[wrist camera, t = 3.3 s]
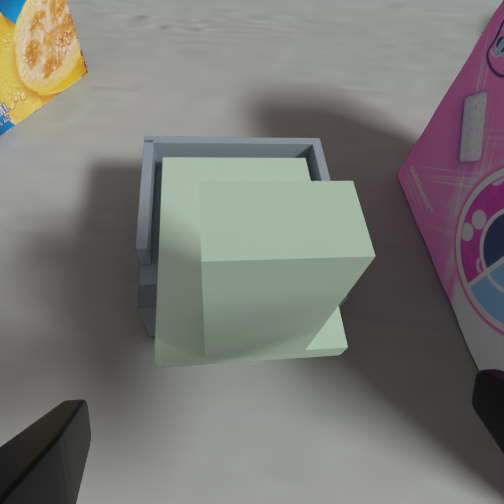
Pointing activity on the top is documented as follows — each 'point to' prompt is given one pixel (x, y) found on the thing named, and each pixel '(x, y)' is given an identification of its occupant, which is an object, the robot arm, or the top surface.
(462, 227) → the gum box
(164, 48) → the top surface
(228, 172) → the pale green l-shaped piece
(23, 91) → the beverage box
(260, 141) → the tub
